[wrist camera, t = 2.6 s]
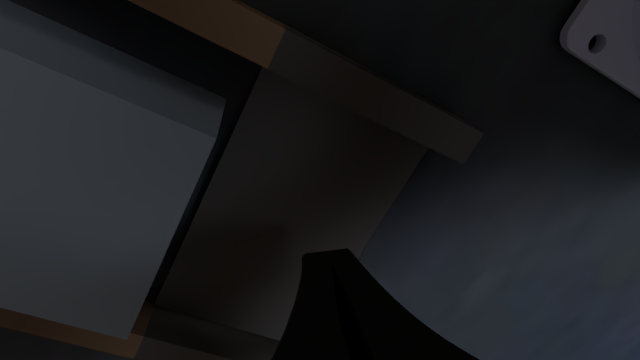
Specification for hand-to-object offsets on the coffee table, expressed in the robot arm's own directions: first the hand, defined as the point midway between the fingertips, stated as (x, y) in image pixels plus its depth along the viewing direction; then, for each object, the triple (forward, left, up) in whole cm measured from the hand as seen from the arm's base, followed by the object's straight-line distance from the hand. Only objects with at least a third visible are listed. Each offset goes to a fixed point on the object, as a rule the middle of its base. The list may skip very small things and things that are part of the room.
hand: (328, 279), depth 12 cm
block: (+7, 0, -2) cm, 8 cm away
